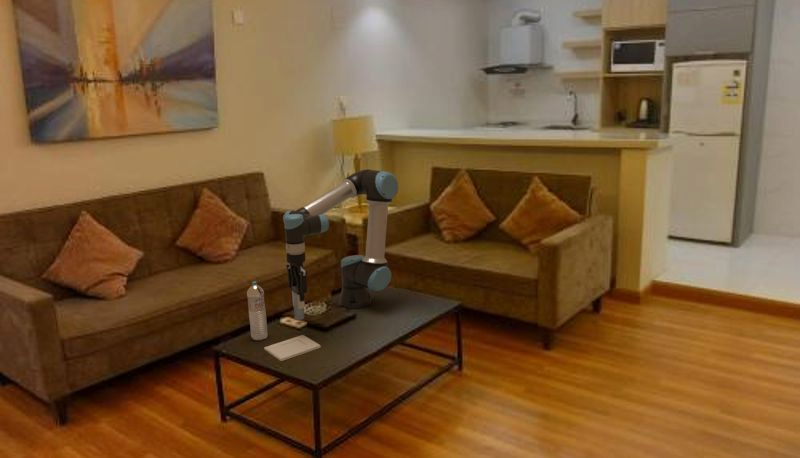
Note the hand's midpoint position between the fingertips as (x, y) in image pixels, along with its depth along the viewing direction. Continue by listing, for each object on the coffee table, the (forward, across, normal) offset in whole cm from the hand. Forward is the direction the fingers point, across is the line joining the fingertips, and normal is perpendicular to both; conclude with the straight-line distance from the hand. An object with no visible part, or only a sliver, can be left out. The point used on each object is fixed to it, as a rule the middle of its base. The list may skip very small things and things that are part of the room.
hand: (298, 306), depth 260 cm
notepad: (+14, +7, -8) cm, 17 cm away
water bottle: (+15, -12, -13) cm, 23 cm away
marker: (+5, 0, 0) cm, 5 cm away
